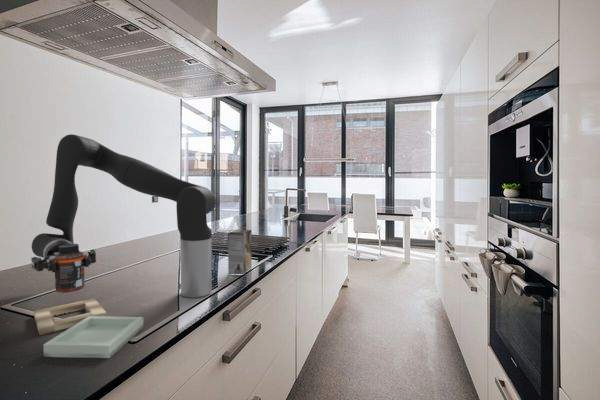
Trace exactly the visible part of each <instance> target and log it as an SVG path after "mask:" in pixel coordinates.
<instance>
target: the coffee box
mask: <svg viewBox="0 0 600 400" xmlns="http://www.w3.org/2000/svg"><path fill="white" fill-rule="evenodd" d="M252 231H253V230H252V229H234V230H232V231H230V232H228V234H227V236H228V237H227V239H228V240H227V243H228V244H227V245H228V246H227V248H228V249H227V251H228V252H227V253H228V254H227V257H228V258H227V259H228V260H227V263H228V265H227V270H228V273H227V274H243V275H244V274H245V273H246V272H247V271H248V270H249V269H250V268H251V269H252ZM245 275H246V274H245ZM245 275H244V276H245Z"/></svg>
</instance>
